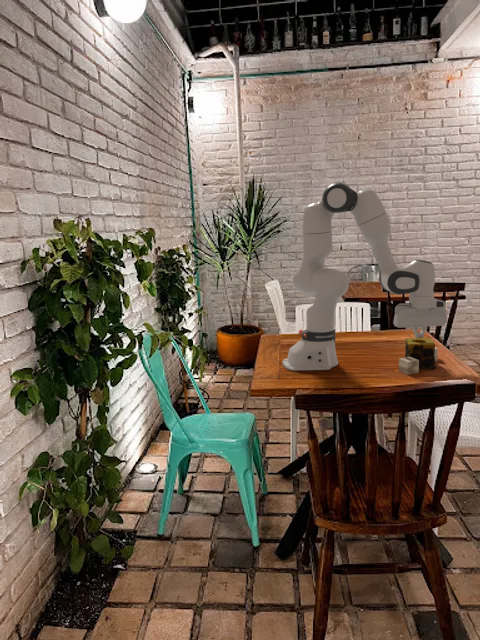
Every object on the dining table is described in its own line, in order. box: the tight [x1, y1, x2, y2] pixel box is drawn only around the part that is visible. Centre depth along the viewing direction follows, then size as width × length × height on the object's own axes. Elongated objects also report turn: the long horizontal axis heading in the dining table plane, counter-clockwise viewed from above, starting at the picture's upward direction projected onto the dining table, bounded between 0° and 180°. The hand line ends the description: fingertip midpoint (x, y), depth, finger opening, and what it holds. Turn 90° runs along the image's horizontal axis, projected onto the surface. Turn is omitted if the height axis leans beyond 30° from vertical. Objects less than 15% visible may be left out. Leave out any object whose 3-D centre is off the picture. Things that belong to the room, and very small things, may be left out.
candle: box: [404, 337, 436, 370], centre depth 186 cm, size 10×10×10 cm
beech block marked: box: [398, 357, 420, 376], centre depth 179 cm, size 5×5×5 cm
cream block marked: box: [434, 346, 439, 362], centre depth 194 cm, size 5×5×5 cm
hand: (419, 337), depth 185 cm, fingers closed
